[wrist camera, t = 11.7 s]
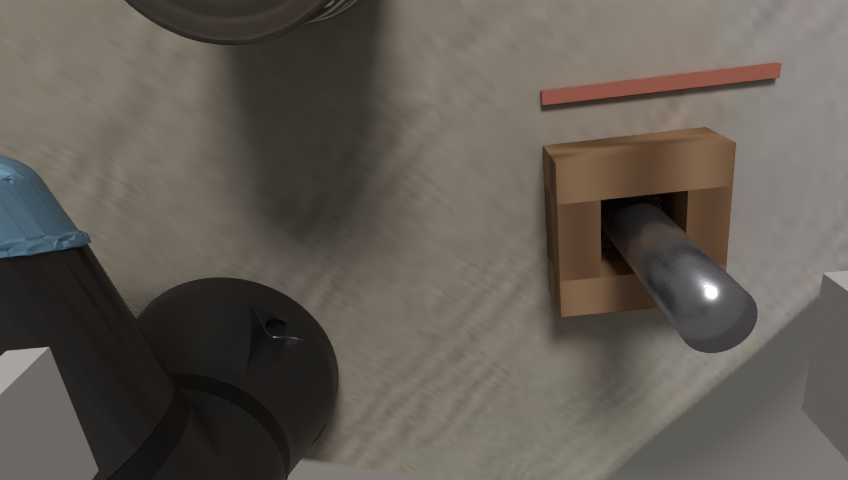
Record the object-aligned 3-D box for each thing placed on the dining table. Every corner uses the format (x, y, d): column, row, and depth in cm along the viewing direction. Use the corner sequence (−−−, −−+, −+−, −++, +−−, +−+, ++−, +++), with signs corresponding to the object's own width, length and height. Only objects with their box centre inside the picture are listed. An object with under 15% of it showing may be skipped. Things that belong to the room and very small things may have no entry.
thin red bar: (541, 103, 37) (542, 105, 37) (540, 90, 37) (541, 91, 37) (776, 76, 37) (779, 77, 36) (777, 62, 36) (781, 63, 36)
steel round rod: (597, 238, 41) (677, 356, 28) (596, 189, 40) (680, 289, 27) (648, 232, 41) (753, 349, 28) (650, 183, 39) (760, 281, 26)
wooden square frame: (549, 288, 42) (561, 317, 39) (543, 145, 38) (555, 163, 35) (697, 272, 42) (723, 300, 38) (705, 127, 38) (736, 142, 34)
